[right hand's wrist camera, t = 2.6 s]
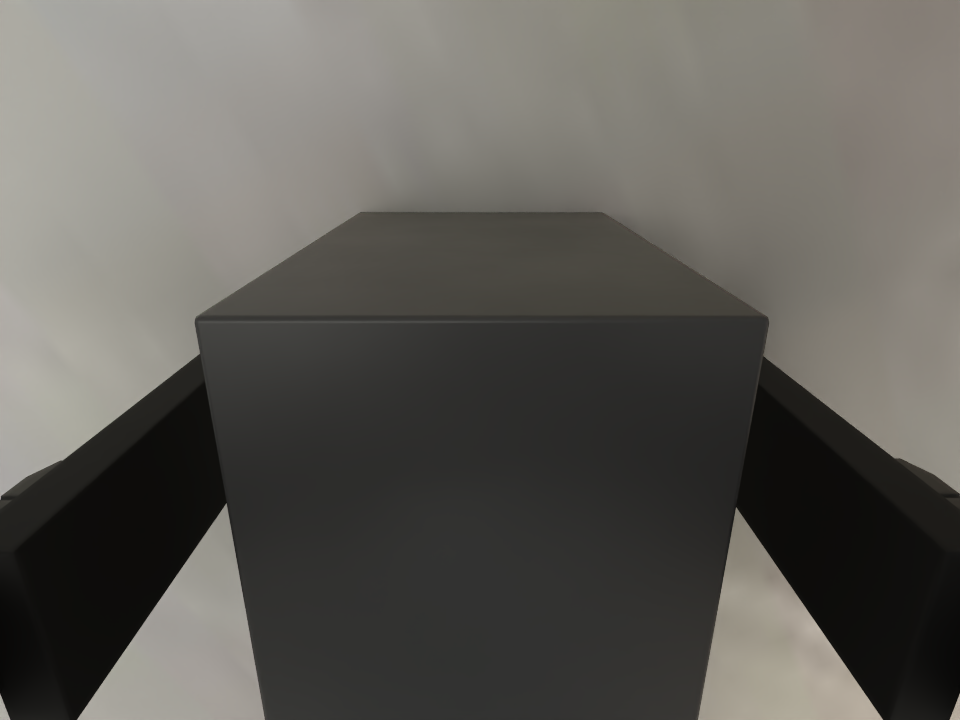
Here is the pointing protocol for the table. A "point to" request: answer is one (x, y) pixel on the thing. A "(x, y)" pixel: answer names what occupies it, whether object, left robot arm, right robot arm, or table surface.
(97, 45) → the table surface
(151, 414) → the right robot arm
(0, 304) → the table surface
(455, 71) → the table surface
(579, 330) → the bar
